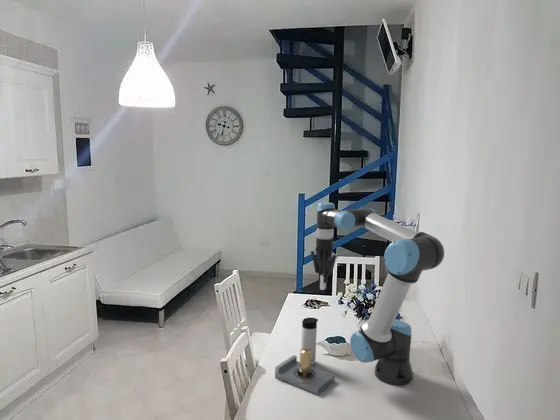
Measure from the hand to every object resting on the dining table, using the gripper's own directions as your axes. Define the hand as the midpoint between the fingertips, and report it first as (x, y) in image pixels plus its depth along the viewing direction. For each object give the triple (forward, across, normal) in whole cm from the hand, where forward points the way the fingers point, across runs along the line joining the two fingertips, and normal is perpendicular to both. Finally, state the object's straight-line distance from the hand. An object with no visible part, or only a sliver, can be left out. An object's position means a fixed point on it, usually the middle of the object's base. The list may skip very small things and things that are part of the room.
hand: (322, 288), depth 193 cm
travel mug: (+30, -2, +13) cm, 33 cm away
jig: (+29, -8, +26) cm, 40 cm away
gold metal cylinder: (+29, -8, +25) cm, 40 cm away
